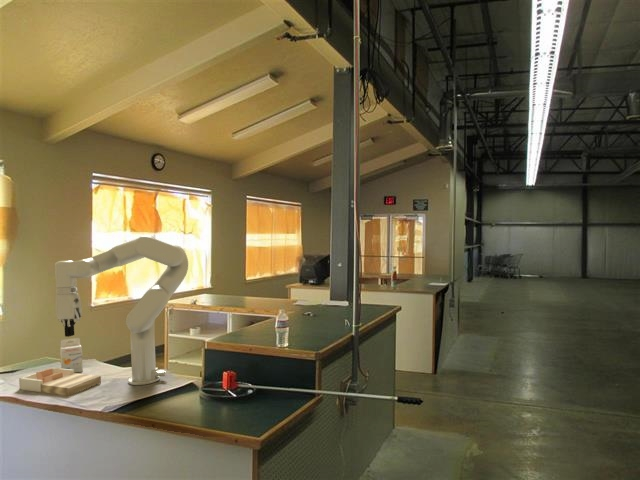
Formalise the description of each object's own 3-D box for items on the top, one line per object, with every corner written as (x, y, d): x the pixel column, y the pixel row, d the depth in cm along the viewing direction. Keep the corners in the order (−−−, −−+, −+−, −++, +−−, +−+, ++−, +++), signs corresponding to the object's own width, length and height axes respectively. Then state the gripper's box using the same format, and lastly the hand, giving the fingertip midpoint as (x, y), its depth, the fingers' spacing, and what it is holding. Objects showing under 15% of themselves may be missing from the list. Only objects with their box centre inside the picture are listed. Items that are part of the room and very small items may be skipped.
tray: (74, 380, 211) (73, 369, 211) (40, 392, 196) (40, 380, 196) (53, 377, 215) (53, 367, 215) (19, 389, 200) (19, 378, 200)
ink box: (62, 375, 219) (60, 342, 219) (60, 372, 223) (59, 340, 223) (83, 371, 224) (81, 339, 223) (81, 369, 228) (80, 337, 227)
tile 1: (51, 368, 208) (46, 369, 209) (41, 371, 203) (35, 372, 204) (54, 380, 208) (48, 380, 209) (43, 383, 203) (38, 384, 204)
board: (100, 383, 205) (100, 376, 205) (68, 395, 191) (68, 388, 190) (74, 380, 211) (73, 373, 211) (40, 392, 196) (40, 384, 196)
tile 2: (63, 379, 206) (62, 372, 206) (53, 383, 201) (51, 375, 202) (55, 381, 208) (53, 373, 208) (44, 384, 203) (43, 377, 203)
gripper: (88, 289, 201) (91, 334, 201) (61, 289, 206) (64, 333, 207) (72, 292, 194) (75, 338, 194) (45, 292, 199) (48, 337, 200)
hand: (69, 335), depth 200 cm, fingers closed
